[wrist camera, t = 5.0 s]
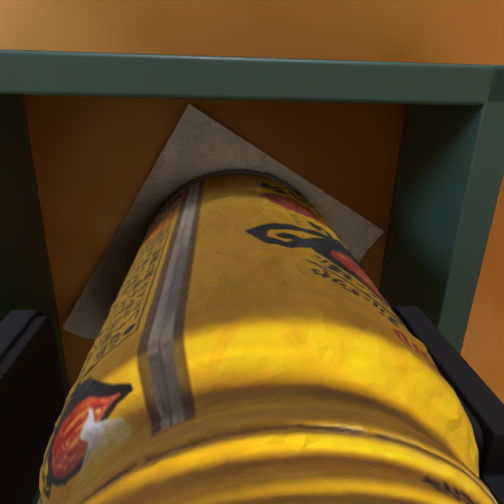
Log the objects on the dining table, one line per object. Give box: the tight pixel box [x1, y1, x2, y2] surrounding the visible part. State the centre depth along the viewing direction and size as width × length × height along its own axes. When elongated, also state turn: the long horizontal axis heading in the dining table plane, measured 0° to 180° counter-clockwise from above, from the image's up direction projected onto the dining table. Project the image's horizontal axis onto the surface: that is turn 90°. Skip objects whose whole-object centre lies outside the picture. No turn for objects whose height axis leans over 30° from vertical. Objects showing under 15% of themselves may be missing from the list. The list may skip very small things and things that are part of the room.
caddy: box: [0, 49, 504, 504], centre depth 14 cm, size 19×13×4 cm, turn 179°
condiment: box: [38, 104, 498, 504], centre depth 9 cm, size 7×8×12 cm
